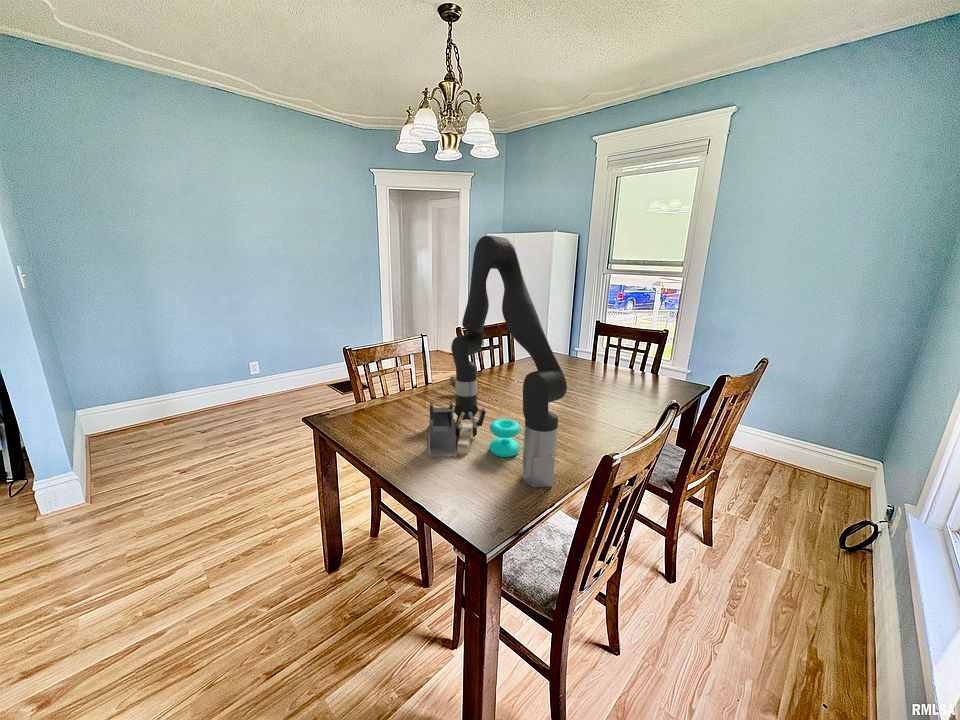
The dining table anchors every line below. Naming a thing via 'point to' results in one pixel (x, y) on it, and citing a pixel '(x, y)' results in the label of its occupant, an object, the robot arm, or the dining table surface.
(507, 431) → the turquoise hourglass-shaped piece
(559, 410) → the dining table surface
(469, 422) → the birch rail
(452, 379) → the lion figurine
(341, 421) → the dining table surface
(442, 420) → the cradle bracket stand
